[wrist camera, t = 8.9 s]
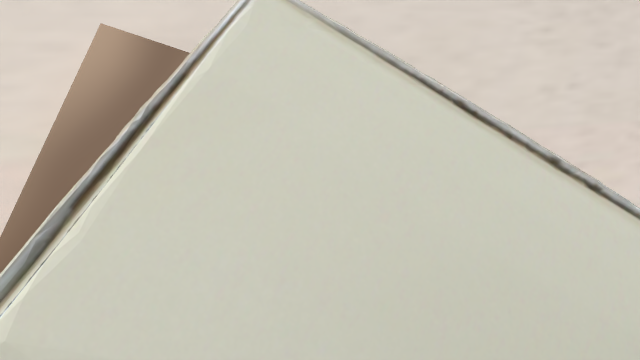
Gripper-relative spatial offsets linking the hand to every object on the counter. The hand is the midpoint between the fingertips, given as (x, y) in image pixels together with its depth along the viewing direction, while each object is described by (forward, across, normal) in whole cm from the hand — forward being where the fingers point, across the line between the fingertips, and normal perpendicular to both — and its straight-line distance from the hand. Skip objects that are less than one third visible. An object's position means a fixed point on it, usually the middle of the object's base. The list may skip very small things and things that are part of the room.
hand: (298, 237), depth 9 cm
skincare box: (+4, 0, +6) cm, 7 cm away
